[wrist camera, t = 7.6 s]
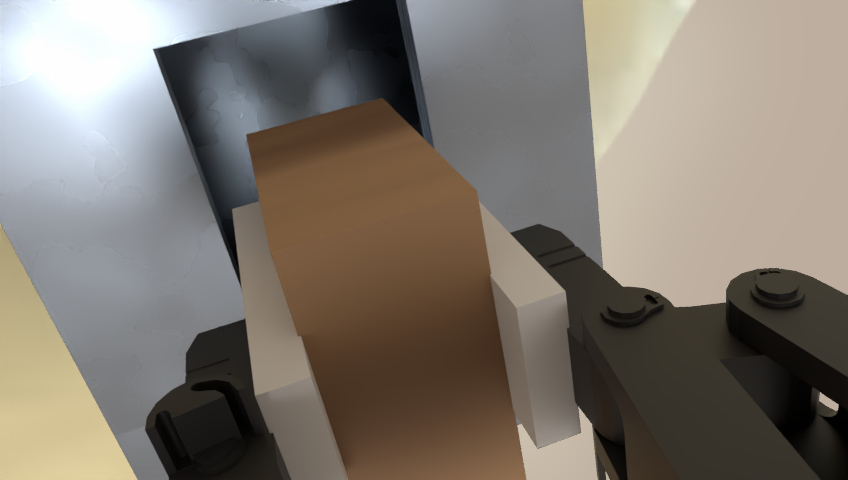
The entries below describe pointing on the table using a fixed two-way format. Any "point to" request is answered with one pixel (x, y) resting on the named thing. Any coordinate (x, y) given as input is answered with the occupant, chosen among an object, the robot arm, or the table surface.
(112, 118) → the coin box
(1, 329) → the table surface
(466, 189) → the block
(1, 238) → the table surface
